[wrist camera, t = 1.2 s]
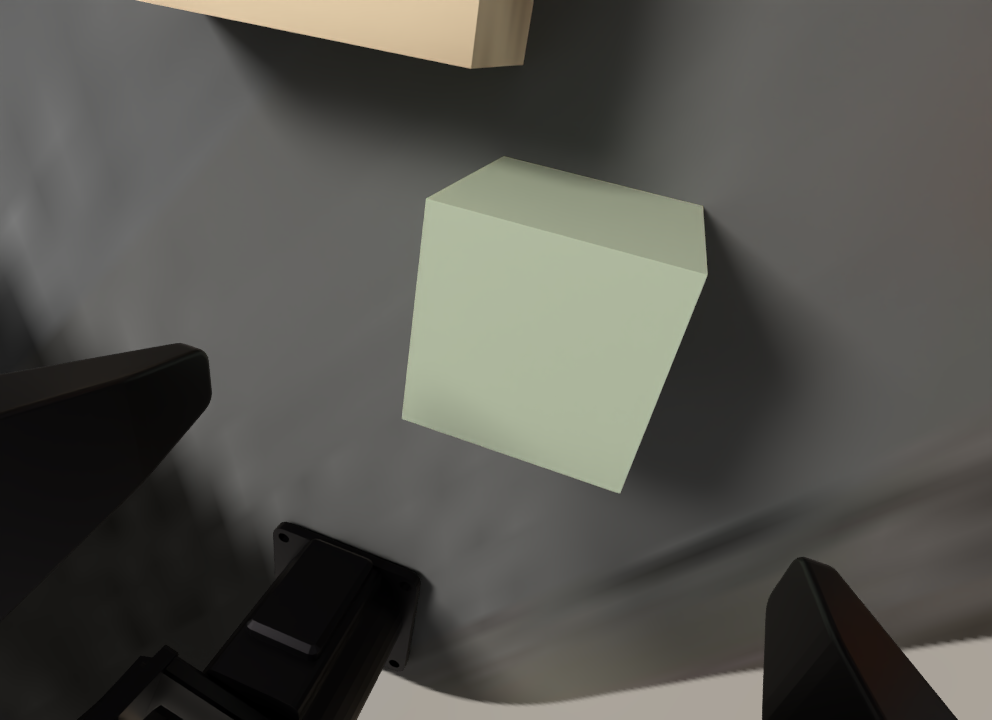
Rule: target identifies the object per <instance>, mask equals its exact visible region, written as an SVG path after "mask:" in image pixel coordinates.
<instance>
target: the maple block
mask: <svg viewBox="0 0 992 720" xmlns="http://www.w3.org/2000/svg"><path fill="white" fill-rule="evenodd" d="M137 1H142V2H147V3H152V4H157V5H162V6H167V7H172V8H177V9H181V10H186V11H191V12H196V13H201V14H206V15H211V16H216V17H221V18H225V19H230V20H235V21H240V22H245V23H250V24H255V25H260V26H265V27H269V28H274V29H279V30H284V31H289V32H294V33H299V34H304V35H309V36H313V37H318V38H323V39H328V40H333V41H338V42H343V43H348V44H353V45H357V46H362V47H367V48H372V49H377V50H382V51H387V52H392V53H397V54H401V55H406V56H411V57H416V58H421V59H426V60H431V61H436V62H441V63H445V64H450V65H455V66H460V67H465V68H470V69H474V68H487V67H501V66H514V65H523V63H524V57H525V51H526V45H527V39H528V33H529V26H530V20H531V14H532V8H533V2H534V0H137Z"/></svg>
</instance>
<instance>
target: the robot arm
mask: <svg viewBox="0 0 992 720" xmlns="http://www.w3.org/2000/svg"><path fill="white" fill-rule="evenodd" d="M211 396H212V388H211V378H210V369H209V360H208V356H207V355H206V353H205V352H204V351H203V350H201V349H198V348H195V347H192V346H189V345H186V344H183V343H175V344H169V345H164V346H158V347H152V348H147V349H141V350H136V351H130V352H124V353H119V354H113V355H107V356H102V357H96V358H90V359H85V360H79V361H73V362H68V363H62V364H56V365H51V366H45V367H39V368H34V369H28V370H23V371H17V372H11V373H6V374H0V622H1V621H2V620H3V619H4V618H5V617H6V616H7V615H8V614H9V613H10V612H11V611H12V610H13V609H14V608H15V607H16V606H17V605H18V604H19V603H20V602H21V601H22V600H23V599H24V598H25V597H26V596H27V595H28V594H29V593H30V592H31V591H33V590H34V589H35V588H36V587H37V586H38V585H39V584H40V583H41V582H42V581H43V580H44V579H45V578H46V577H47V576H48V575H49V574H50V573H51V572H52V571H53V570H54V569H55V568H56V567H57V566H58V565H59V564H60V563H61V562H62V561H63V560H64V559H65V558H66V557H67V556H68V555H69V554H71V553H72V552H73V551H74V550H75V549H76V548H77V547H78V546H79V545H80V544H81V543H82V542H83V541H84V540H85V539H86V538H87V537H88V536H89V535H90V534H91V533H92V532H93V531H94V530H95V529H96V528H97V527H98V526H99V525H100V524H101V523H102V522H103V521H104V520H105V519H106V518H107V517H109V516H110V515H111V514H112V513H113V512H114V511H115V510H116V509H117V508H118V507H119V506H120V505H121V504H122V503H123V502H124V501H125V500H126V499H127V498H128V497H129V496H130V495H131V494H132V493H133V492H134V491H135V490H136V489H137V488H138V487H139V486H140V485H141V484H142V483H143V482H144V481H145V480H146V479H147V477H148V476H149V475H150V474H151V473H152V472H153V471H154V470H155V469H156V467H157V466H158V465H159V464H160V463H161V461H162V460H163V459H164V458H165V457H166V456H167V454H168V453H169V452H170V451H171V450H172V448H173V447H174V446H175V445H176V444H177V443H178V441H179V440H180V439H181V438H182V437H183V435H184V434H185V433H186V432H187V431H188V430H189V428H190V427H191V426H192V425H193V424H194V423H195V421H196V420H197V419H198V418H199V417H200V415H201V414H202V413H203V412H204V411H205V410H206V408H207V407H208V405H209V403H210V400H211ZM273 540H274V562H275V581H274V582H273V584H272V585H271V586H270V587H269V589H268V590H267V591H266V592H265V594H264V595H263V596H262V597H261V599H260V600H259V601H258V602H257V604H256V605H255V606H254V608H253V609H252V610H251V611H250V613H249V614H248V615H247V616H246V618H245V619H244V620H243V621H242V623H241V624H240V625H239V626H238V628H237V629H236V630H235V631H234V633H233V634H232V635H231V637H230V638H229V639H228V640H227V642H226V643H225V644H224V645H223V647H222V648H221V649H220V650H219V652H218V653H217V654H216V655H215V657H214V658H213V659H212V661H211V662H210V663H209V664H208V666H207V667H206V668H205V669H204V671H203V672H201V671H199V670H198V669H196V668H195V667H193V666H192V665H190V664H189V663H187V662H185V661H184V660H182V659H181V658H179V657H178V655H179V653H178V652H176V651H175V650H173V649H172V648H170V647H169V646H167V645H165V646H164V647H163V648H162V649H161V650H160V651H159V652H158V653H157V654H156V655H155V656H154V657H152V658H151V657H145V656H140V657H139V658H138V659H137V660H136V662H135V663H134V664H133V665H132V666H131V667H130V668H129V669H128V670H127V671H126V672H125V674H124V675H123V676H122V677H121V678H120V679H119V680H118V681H117V682H116V683H115V684H114V685H113V687H112V688H111V689H110V690H109V691H108V692H107V693H106V694H105V695H104V696H103V697H102V698H101V699H100V700H99V701H98V702H97V703H96V704H95V705H93V706H92V707H91V708H90V709H89V710H88V711H87V712H86V713H84V714H83V715H82V716H81V717H80V718H79V719H77V720H357V718H358V716H359V714H360V712H361V710H362V708H363V706H364V704H365V702H366V700H367V698H368V696H369V694H370V693H371V691H372V688H373V687H374V684H375V683H376V681H377V679H378V676H379V674H380V673H381V671H382V669H383V667H384V666H385V667H388V668H390V669H392V670H395V671H402V670H404V668H405V666H406V664H407V661H408V658H409V652H410V646H411V640H412V634H413V628H414V622H415V616H416V610H417V603H418V597H419V591H420V585H421V579H420V578H419V576H418V575H417V574H416V573H415V572H413V571H411V570H408V569H406V568H403V567H401V566H398V565H396V564H393V563H391V562H388V561H386V560H383V559H380V558H378V557H375V556H373V555H370V554H368V553H365V552H363V551H360V550H357V549H355V548H352V547H350V546H347V545H345V544H342V543H340V542H337V541H335V540H332V539H329V538H327V537H324V536H322V535H319V534H317V533H314V532H312V531H309V530H307V529H304V528H301V527H299V526H296V525H294V524H291V523H288V522H282V523H280V524H279V526H278V527H277V528H276V529H275V530H274V532H273ZM762 720H958V719H957V718H956V717H955V716H954V715H953V713H952V712H951V711H950V710H949V709H948V707H947V706H946V705H945V703H944V702H943V701H942V700H941V698H940V697H939V696H938V695H937V693H936V692H935V691H934V690H933V689H932V687H931V686H930V685H929V684H928V683H927V681H926V680H925V679H924V678H923V676H922V675H921V674H920V673H919V671H918V670H917V669H916V668H915V666H914V665H913V664H912V663H911V662H910V661H909V659H908V658H907V657H906V656H905V654H904V653H903V652H902V651H901V649H900V648H899V647H898V646H897V644H896V643H895V642H894V641H893V640H892V638H891V637H890V636H889V635H888V633H887V632H886V631H885V630H884V628H883V627H882V626H881V625H880V624H879V622H878V621H877V620H876V619H875V617H874V616H873V615H872V614H871V613H870V611H869V610H868V609H867V608H866V606H865V605H864V604H863V603H862V601H861V600H860V599H859V598H858V597H857V595H856V594H855V593H854V592H853V590H852V589H851V588H850V587H849V586H848V584H847V583H846V582H845V581H844V579H843V578H842V577H841V576H840V574H839V573H838V572H837V571H836V570H835V569H834V568H833V567H831V566H829V565H826V564H823V563H820V562H818V561H815V560H812V559H809V558H806V557H799V558H797V559H795V560H794V561H793V562H792V563H791V565H790V566H789V568H788V569H787V571H786V572H785V574H784V575H783V577H782V578H781V580H780V581H779V583H778V584H777V586H776V587H775V588H774V590H773V591H772V593H771V595H770V597H769V599H768V603H767V608H766V622H765V649H764V675H763V703H762Z"/></svg>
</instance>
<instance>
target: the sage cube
mask: <svg viewBox="0 0 992 720" xmlns="http://www.w3.org/2000/svg"><path fill="white" fill-rule="evenodd" d="M707 275H708V272H707V257H706V243H705V228H704V214H703V206H701V205H697V204H693V203H689V202H685V201H681V200H677V199H673V198H669V197H665V196H661V195H657V194H653V193H649V192H645V191H641V190H637V189H633V188H629V187H625V186H621V185H617V184H613V183H609V182H605V181H601V180H597V179H593V178H589V177H585V176H581V175H577V174H573V173H569V172H565V171H561V170H557V169H553V168H549V167H545V166H541V165H537V164H533V163H529V162H525V161H522V160H518V159H514V158H510V157H506V156H503V157H501V158H499V159H497V160H496V161H494V162H492V163H490V164H488V165H487V166H485V167H483V168H481V169H479V170H477V171H476V172H474V173H472V174H470V175H468V176H466V177H465V178H463V179H461V180H459V181H457V182H456V183H454V184H452V185H450V186H448V187H446V188H445V189H443V190H441V191H439V192H437V193H435V194H434V195H432V196H430V197H428V198H426V205H425V214H424V223H423V232H422V241H421V250H420V259H419V268H418V277H417V286H416V295H415V304H414V313H413V322H412V331H411V340H410V349H409V358H408V367H407V376H406V385H405V394H404V403H403V412H402V419H404V420H407V421H410V422H413V423H415V424H418V425H421V426H424V427H427V428H430V429H433V430H436V431H439V432H442V433H445V434H447V435H450V436H453V437H456V438H459V439H462V440H465V441H468V442H471V443H474V444H477V445H479V446H482V447H485V448H488V449H491V450H494V451H497V452H500V453H503V454H506V455H509V456H511V457H514V458H517V459H520V460H523V461H526V462H529V463H532V464H535V465H538V466H540V467H543V468H546V469H549V470H552V471H555V472H558V473H561V474H564V475H567V476H570V477H572V478H575V479H578V480H581V481H584V482H587V483H590V484H593V485H596V486H599V487H602V488H604V489H607V490H610V491H613V492H616V493H619V494H620V492H621V490H622V487H623V485H624V482H625V480H626V477H627V475H628V472H629V470H630V467H631V465H632V462H633V460H634V457H635V455H636V452H637V450H638V447H639V445H640V442H641V440H642V437H643V435H644V432H645V430H646V428H647V425H648V423H649V420H650V418H651V415H652V413H653V410H654V408H655V405H656V403H657V400H658V398H659V395H660V393H661V390H662V388H663V385H664V383H665V380H666V378H667V375H668V373H669V370H670V368H671V365H672V363H673V360H674V358H675V355H676V353H677V350H678V348H679V345H680V343H681V340H682V338H683V335H684V333H685V330H686V328H687V325H688V323H689V320H690V318H691V315H692V313H693V310H694V308H695V305H696V303H697V300H698V298H699V295H700V293H701V290H702V288H703V285H704V283H705V280H706V278H707Z"/></svg>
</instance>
